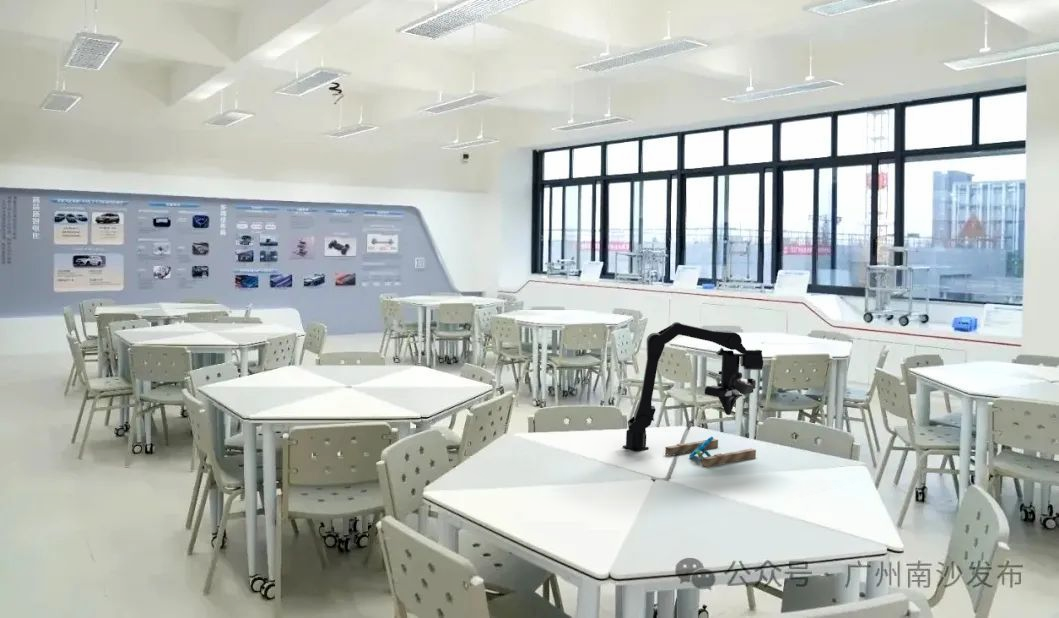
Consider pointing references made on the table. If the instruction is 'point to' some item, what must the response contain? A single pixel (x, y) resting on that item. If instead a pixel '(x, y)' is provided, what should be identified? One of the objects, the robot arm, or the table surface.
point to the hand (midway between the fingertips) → (728, 414)
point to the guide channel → (711, 459)
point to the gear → (702, 449)
